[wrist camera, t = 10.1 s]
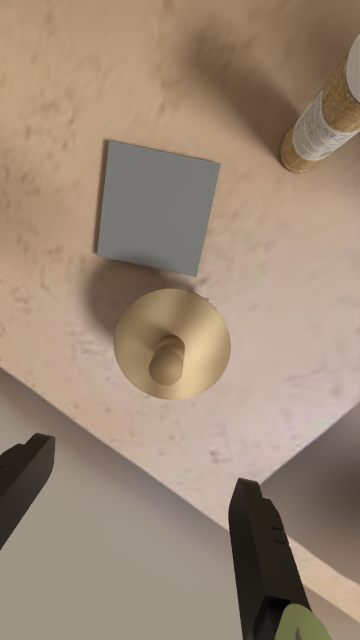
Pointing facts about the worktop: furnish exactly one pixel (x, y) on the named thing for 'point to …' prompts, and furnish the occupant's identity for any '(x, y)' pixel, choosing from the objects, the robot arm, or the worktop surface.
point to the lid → (172, 344)
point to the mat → (155, 208)
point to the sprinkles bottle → (326, 117)
